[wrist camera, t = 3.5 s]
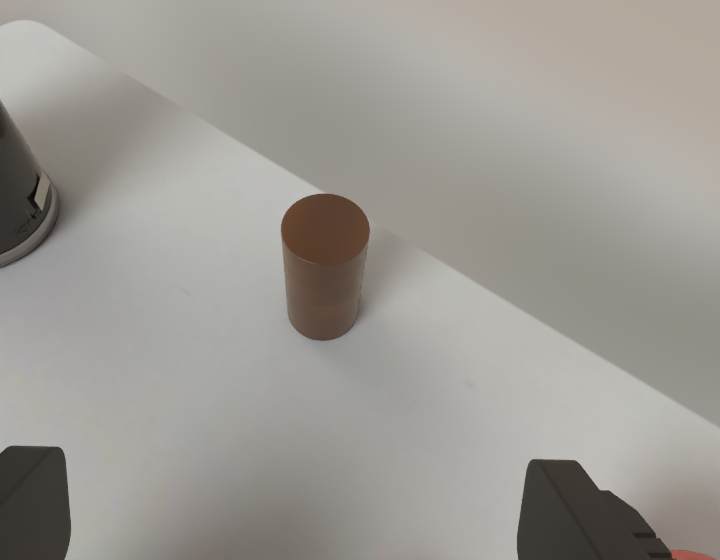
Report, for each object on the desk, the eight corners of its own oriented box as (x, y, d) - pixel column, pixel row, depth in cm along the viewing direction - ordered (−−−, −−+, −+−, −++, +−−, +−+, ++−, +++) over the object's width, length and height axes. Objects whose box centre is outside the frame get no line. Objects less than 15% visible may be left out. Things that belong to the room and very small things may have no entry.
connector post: (279, 333, 36) (270, 255, 28) (296, 272, 38) (292, 186, 30) (350, 347, 35) (361, 272, 28) (363, 285, 38) (376, 202, 30)
